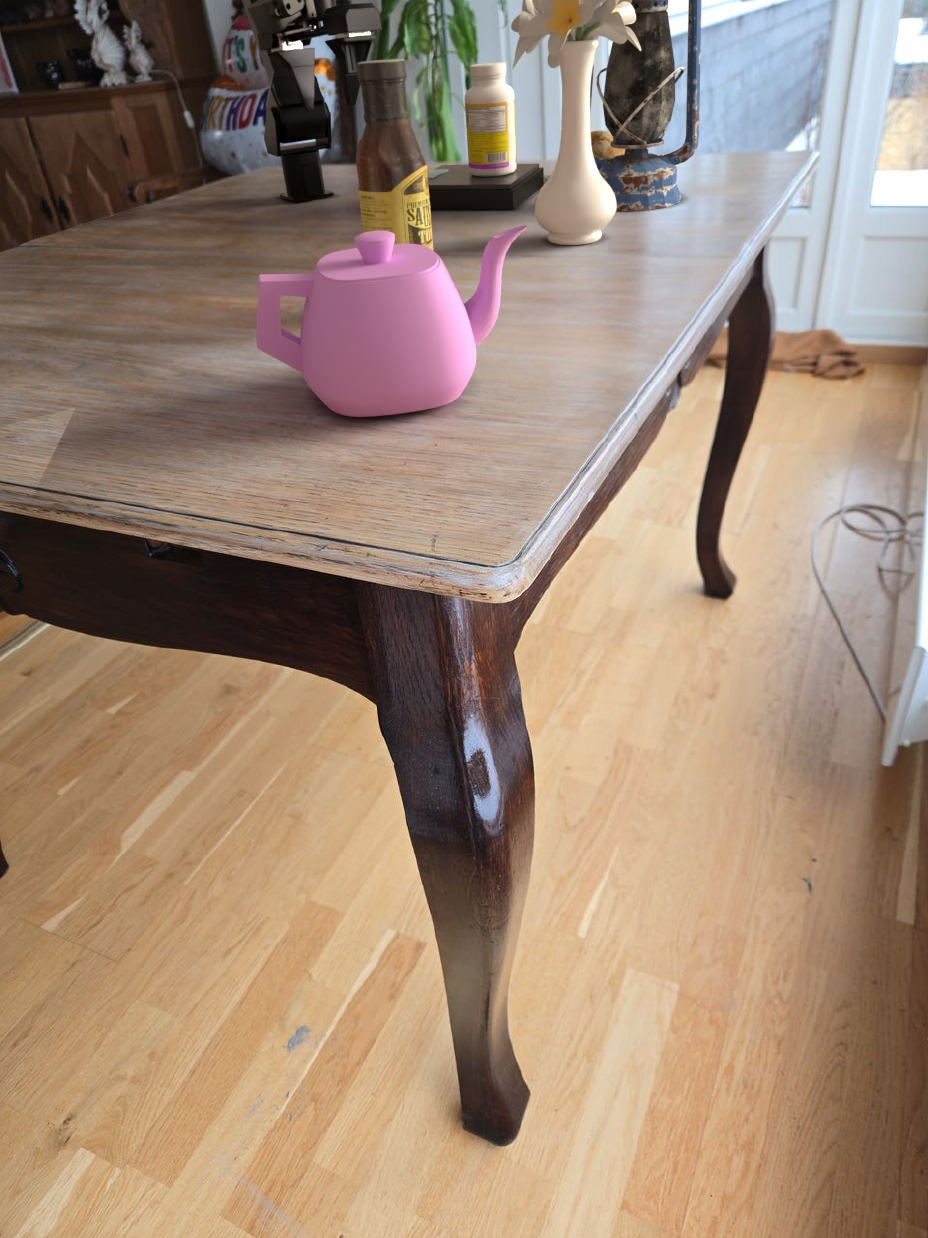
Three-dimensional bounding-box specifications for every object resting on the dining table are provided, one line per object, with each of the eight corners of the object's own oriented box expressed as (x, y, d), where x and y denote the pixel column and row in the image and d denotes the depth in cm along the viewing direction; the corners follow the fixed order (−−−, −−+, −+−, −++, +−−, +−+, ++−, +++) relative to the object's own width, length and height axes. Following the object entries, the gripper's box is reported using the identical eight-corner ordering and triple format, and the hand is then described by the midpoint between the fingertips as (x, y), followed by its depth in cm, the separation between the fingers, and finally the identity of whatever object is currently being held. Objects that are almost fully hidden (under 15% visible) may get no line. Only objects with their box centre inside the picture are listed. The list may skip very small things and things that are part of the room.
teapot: (551, 404, 61) (550, 238, 55) (268, 442, 59) (232, 273, 53) (510, 344, 72) (505, 198, 65) (269, 374, 70) (239, 227, 63)
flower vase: (605, 216, 107) (613, -36, 92) (647, 251, 92) (664, -41, 78) (502, 225, 107) (493, -26, 92) (528, 263, 92) (522, -30, 77)
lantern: (685, 187, 118) (708, -97, 100) (701, 206, 108) (729, -105, 90) (572, 194, 119) (574, -85, 101) (578, 214, 109) (581, -92, 91)
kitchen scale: (401, 209, 118) (399, 184, 116) (441, 186, 130) (439, 163, 128) (513, 209, 114) (512, 183, 112) (543, 185, 126) (543, 161, 124)
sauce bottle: (429, 318, 79) (406, 61, 67) (364, 318, 80) (330, 65, 68) (444, 296, 84) (426, 54, 72) (383, 297, 85) (355, 59, 74)
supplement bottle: (487, 167, 123) (482, 61, 116) (525, 169, 120) (523, 60, 112) (459, 176, 119) (452, 66, 112) (498, 178, 116) (493, 65, 108)
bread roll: (620, 210, 125) (647, 152, 121) (556, 181, 123) (581, 121, 118) (611, 196, 133) (636, 142, 129) (551, 169, 131) (574, 112, 126)
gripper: (207, -27, 105) (239, 119, 114) (294, -57, 93) (322, 109, 102) (282, -29, 112) (307, 110, 120) (373, -57, 100) (394, 99, 108)
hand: (330, 107), depth 112 cm, fingers open, 9 cm apart
